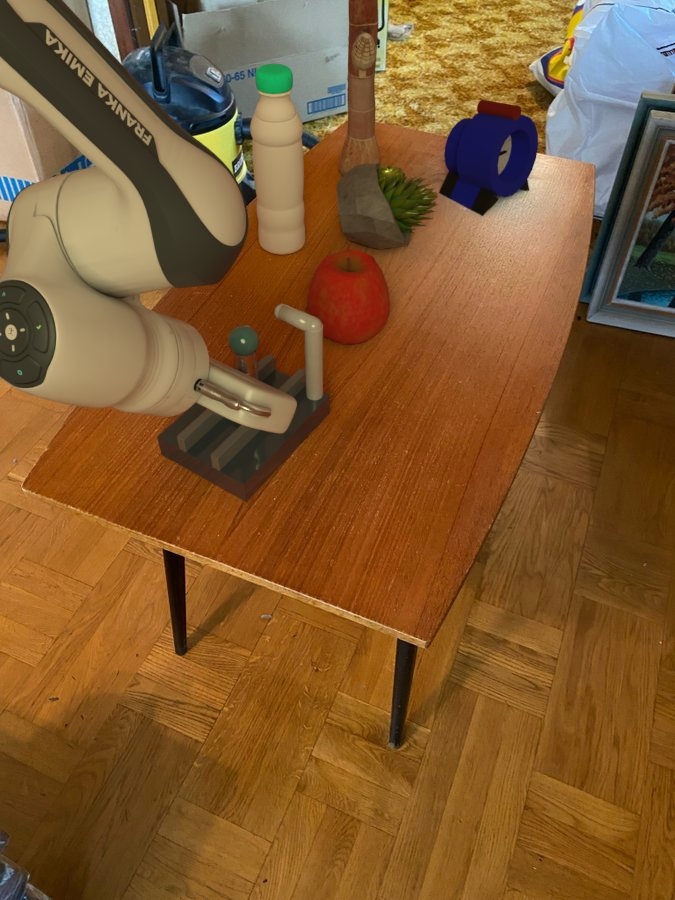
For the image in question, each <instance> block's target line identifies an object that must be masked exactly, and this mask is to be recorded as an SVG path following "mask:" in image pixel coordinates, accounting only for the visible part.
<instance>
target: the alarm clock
mask: <svg viewBox="0 0 675 900" xmlns="http://www.w3.org/2000/svg"><path fill="white" fill-rule="evenodd" d="M476 111H477V113H476V114H475V115H473V117H472V118H471V117H465V118H462V119H460V120H459V121H457V122H456V124H455V125H454V126H453V127H452V128H451V130H450V131H449V133H448V136H447V138H446V142H445V146H444V154H443V156H444V164H445V167H446V169H447V173H446V176H445V178H444V180H443V183H442V185H441V187H440V189H439V192H438V194H440V195H442V196H444V197H446V198H447V199H450V200H452V202H455V203H457V204H459V205H461V206H463V207H465V208H467V209H468V210H470V211H473V212H475V213H476V214H478V215H480V216H482V217H484V215H485V214H486V213H487V212H488V211H490V209H491V208H492V207H493V206H494V205H495V204H496V203H497V202H499V200H500V198H499V197H502V198H507V197H511V196H513V195H515V194H516V193H517V192H519V191H527V192H528V191H530V186H529V185H530V184H529V180H528V179H529V177H530V175H531V173H532V172H533V169H534V166H535V163H536V160H537V155H538V148H539V133H538V129H537V126H536V124H535V122H534V121H533V119H532V118H531V117H529V116H527V115H524V114H522V107H521V106H520V105H516V104H510V103H506V102H505V103H504V102H498V101H491V100H487V99H480V100H479V101H478V103H477V106H476ZM498 196H499V197H498Z"/></svg>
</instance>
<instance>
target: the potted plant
mask: <svg viewBox="0 0 675 900" xmlns="http://www.w3.org/2000/svg"><path fill="white" fill-rule="evenodd" d="M407 177H408V175H406V173H405V172H404V171H403V169H402V168H401V167H397V166H394V165H392V164H389V165H387V166H385V165H381V166H379V163H377V164H368V163H364V164H361V165H357V166H355V167H354V168H352V169H351V170H350V171H349V172H347V173H346V174H345V175H344V176H343V177H342V176H341V179H339V181H338V182H337V183H336V196H337V213H338V218H339V222H340V226H341V230H342V233H343V235H344V237H345V238H346V240H348V241H351V242H353V243H357V244H360V245H363V246H365V247H369V248H371V249H379V250H380V249H382V250H383V249H388V248H389V249H390V248H391V249H392V248H399V247H406V246H409V244H410V240H411V237H412V234H415V231H416V228H414V227H426V225H425V224H424V222H423V221H426V220H427V221H428V220H433V219H434V217H430V216H425V215H429V214H431V213H436V212H437V211H436V210H432V208H434V207H437V206H438V205H439V204H437V202H436V201H437V199H438V198H439V195H438V193H437V192H436V191H434V190H435V189H436V188H429V187H430V186H431V185H432V183H425V184H421V183H422V182H423V181H425V180H426V178H424V177H421V176H420V177H418V176H417V175H416V176H414V177H410V178H408V179H407ZM417 177H418V178H417ZM416 178H417V179H416ZM406 179H407V180H406ZM419 184H421V185H419ZM435 200H436V201H435Z"/></svg>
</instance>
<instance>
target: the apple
mask: <svg viewBox="0 0 675 900" xmlns="http://www.w3.org/2000/svg"><path fill="white" fill-rule="evenodd" d="M314 271H315V272H314V274H313V276H312V277H311V280H310V282H309V285H308V289H307V290H308V291H307V298H306V308H307V312H308V313H307V314H310V315H312V316H314V317H317V318H319V319H320V321H321V322H322V324H323V337H324V338H326V339H328V340H330V341H332V342H335V343H336V344H337V343H338V344H342V345H343V344H344V345H350V346H353V345H357V344H361V343H365V342H368V341H369V340H370V339H372V338H374V337H375V336H376V335H377V334H379V332H380V331H381V330H382V329H383V328H384V327H385V326H386V324H387V322H388V319H389V316H390V313H391V312H390V311H391V298H390V291H389V285H388V283H387V280H386V277H385V275H384V272H383V270H382V268H381V267H380V265H379V264H378V262H377V260H376V259H375V257H374V256H372V255H370V254H369V253H367V252H364V251H361V250H360V249H359V250H358V249H345V250H340V251H337V252H334V253H331V254H328V255H326V257H324V259H323V260H322V261H321V262H320V263H319V264H318V266H317V267H316V268H315V270H314Z"/></svg>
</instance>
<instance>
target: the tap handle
mask: <svg viewBox="0 0 675 900" xmlns="http://www.w3.org/2000/svg"><path fill="white" fill-rule="evenodd" d="M227 345H228V348H229V349H230V351H231V352H232V353H233V354H232V355H233V362H234V368H235V369H236V370H238V371H240V372H242V373H244V374H246V375H249V376H251V377H253V378H255V379H257V380H259V373H258V362H257V361H258V353H257V351H258V349H259V346H260V335H259V334H258V332H257V331H256V329H254V328H253V327H252V326H250V325H246V324H240V325H237V326H235V327H233V328H232V329H231V331H229V334H228V336H227Z"/></svg>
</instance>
